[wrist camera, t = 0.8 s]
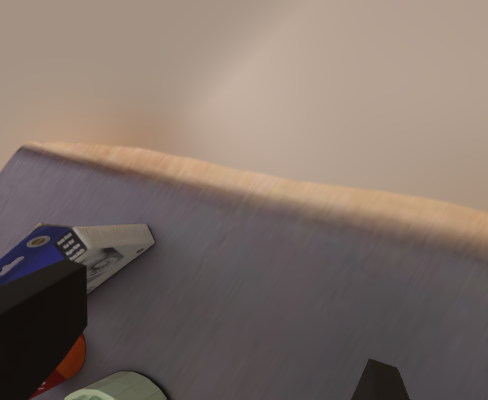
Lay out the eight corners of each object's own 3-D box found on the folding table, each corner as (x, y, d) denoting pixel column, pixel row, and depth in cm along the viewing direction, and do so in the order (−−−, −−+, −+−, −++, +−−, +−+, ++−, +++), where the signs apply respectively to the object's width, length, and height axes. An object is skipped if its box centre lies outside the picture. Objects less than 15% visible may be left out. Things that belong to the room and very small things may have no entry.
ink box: (77, 305, 40) (-48, 334, 30) (68, 284, 41) (-57, 305, 30) (160, 243, 37) (51, 251, 26) (148, 221, 37) (38, 220, 27)
